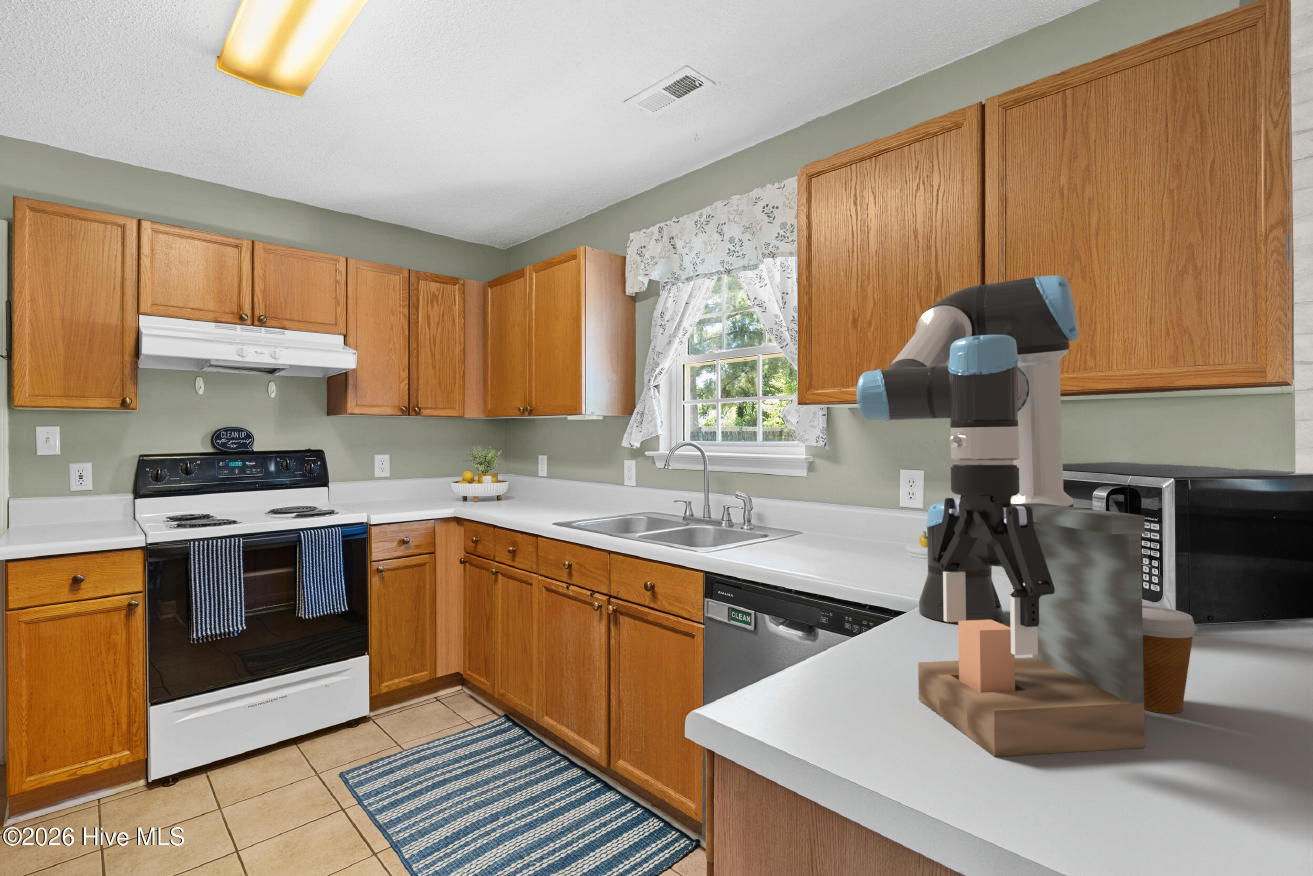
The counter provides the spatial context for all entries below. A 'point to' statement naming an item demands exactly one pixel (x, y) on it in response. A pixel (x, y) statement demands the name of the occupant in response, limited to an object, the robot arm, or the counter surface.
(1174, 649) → the disposable coffee cup
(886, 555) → the counter surface
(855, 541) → the counter surface
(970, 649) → the peg
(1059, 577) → the socket stand
